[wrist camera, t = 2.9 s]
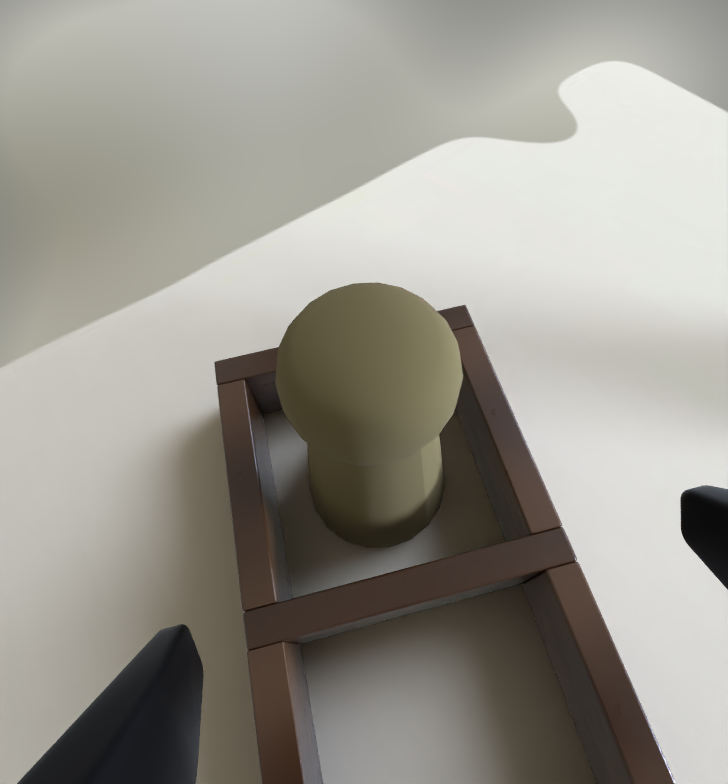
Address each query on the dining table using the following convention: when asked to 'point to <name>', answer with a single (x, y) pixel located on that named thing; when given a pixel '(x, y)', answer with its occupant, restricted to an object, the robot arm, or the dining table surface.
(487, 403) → the frame
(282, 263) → the dining table surface
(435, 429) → the olive pawn
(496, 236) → the dining table surface
